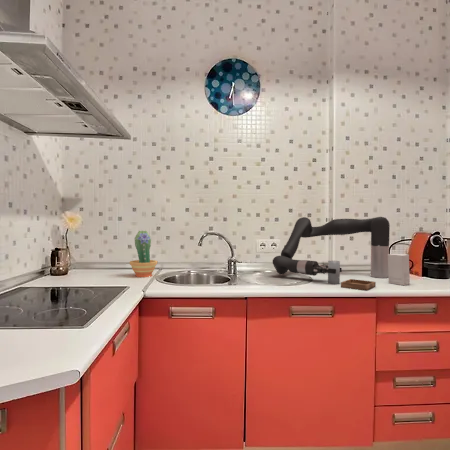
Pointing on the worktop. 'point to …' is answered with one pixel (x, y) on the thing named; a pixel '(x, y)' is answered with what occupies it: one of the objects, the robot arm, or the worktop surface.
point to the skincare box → (398, 269)
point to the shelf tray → (358, 284)
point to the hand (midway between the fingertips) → (338, 270)
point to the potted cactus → (143, 256)
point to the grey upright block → (334, 277)
